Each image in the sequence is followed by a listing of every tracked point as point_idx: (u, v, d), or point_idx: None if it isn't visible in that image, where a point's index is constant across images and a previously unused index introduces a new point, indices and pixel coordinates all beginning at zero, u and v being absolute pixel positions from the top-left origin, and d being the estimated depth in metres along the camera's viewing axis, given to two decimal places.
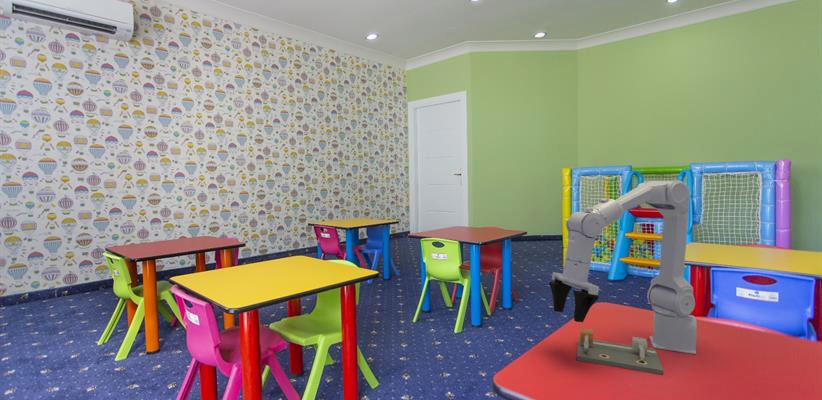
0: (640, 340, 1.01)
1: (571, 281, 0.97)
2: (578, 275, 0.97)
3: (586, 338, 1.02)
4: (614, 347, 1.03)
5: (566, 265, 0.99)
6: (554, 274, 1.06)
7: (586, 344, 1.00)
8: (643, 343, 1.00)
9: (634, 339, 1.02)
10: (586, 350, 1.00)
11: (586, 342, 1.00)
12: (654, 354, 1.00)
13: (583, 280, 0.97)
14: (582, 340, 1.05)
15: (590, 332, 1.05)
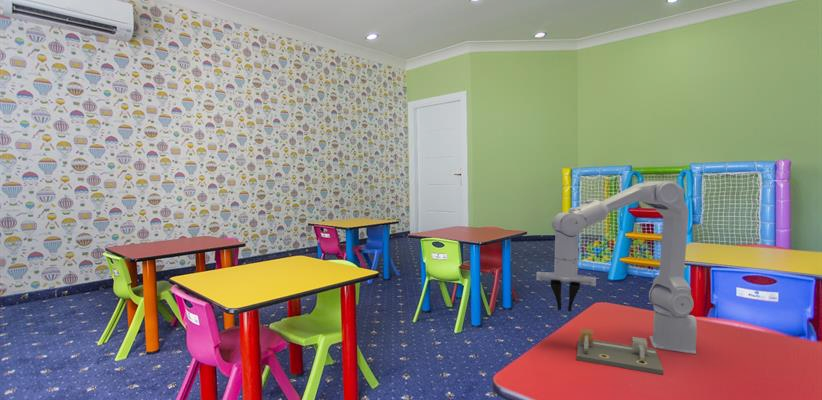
0: (640, 340, 1.01)
1: (573, 279, 1.05)
2: (576, 271, 1.06)
3: (586, 338, 1.02)
4: (614, 347, 1.03)
5: (564, 265, 1.05)
6: (539, 275, 1.09)
7: (586, 344, 1.00)
8: (643, 343, 1.00)
9: (634, 339, 1.02)
10: (586, 350, 1.00)
11: (586, 342, 1.00)
12: (654, 354, 1.00)
13: None
14: (582, 340, 1.05)
15: (590, 332, 1.05)
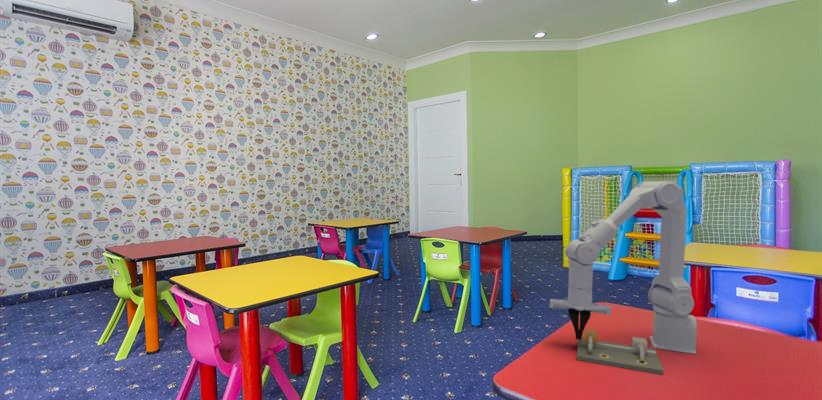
0: (640, 340, 1.01)
1: (588, 308, 1.04)
2: (590, 300, 1.04)
3: (590, 339, 1.02)
4: (614, 347, 1.03)
5: (579, 294, 1.04)
6: (553, 302, 1.08)
7: (590, 345, 1.00)
8: (643, 343, 1.00)
9: (634, 339, 1.02)
10: (590, 351, 1.00)
11: (590, 343, 1.00)
12: (654, 354, 1.00)
13: (591, 303, 1.06)
14: (586, 341, 1.05)
15: (594, 332, 1.05)
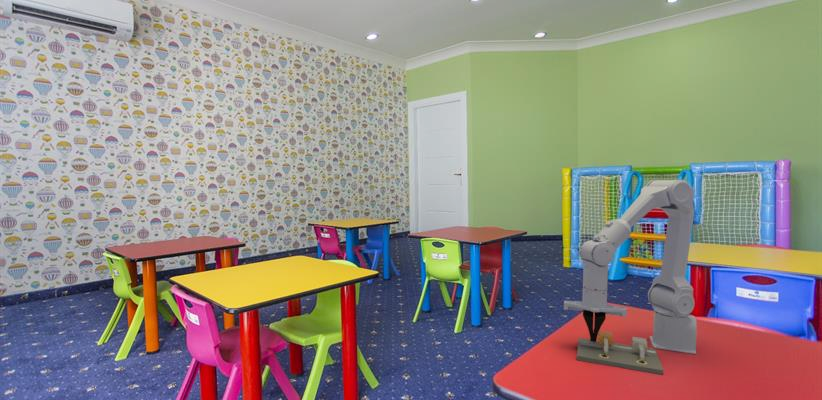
0: (640, 340, 1.01)
1: (603, 310, 1.02)
2: (605, 302, 1.03)
3: (605, 341, 1.00)
4: (614, 347, 1.03)
5: (594, 295, 1.03)
6: (567, 304, 1.07)
7: (606, 347, 0.99)
8: (643, 343, 1.00)
9: (634, 339, 1.02)
10: (606, 353, 0.99)
11: (606, 345, 0.99)
12: (654, 354, 1.00)
13: (606, 304, 1.04)
14: (601, 343, 1.04)
15: (609, 334, 1.04)
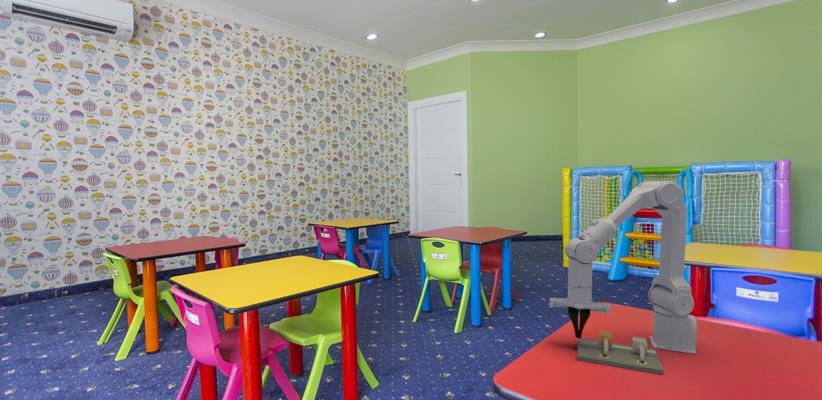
0: (640, 340, 1.01)
1: (588, 307, 1.04)
2: (590, 299, 1.05)
3: (605, 341, 1.00)
4: (614, 347, 1.03)
5: (579, 292, 1.04)
6: (553, 301, 1.08)
7: (606, 347, 0.99)
8: (643, 343, 1.00)
9: (634, 339, 1.02)
10: (606, 353, 0.99)
11: (606, 345, 0.99)
12: (654, 354, 1.00)
13: None
14: (601, 343, 1.04)
15: (609, 334, 1.04)
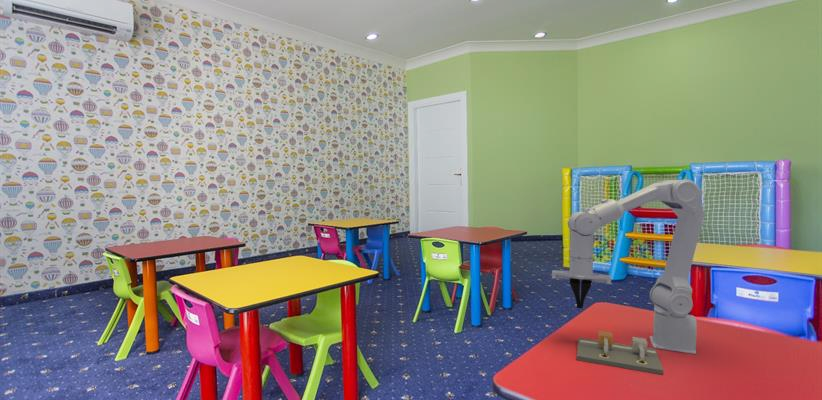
0: (640, 340, 1.01)
1: (589, 277, 1.07)
2: (591, 270, 1.08)
3: (605, 341, 1.00)
4: (614, 347, 1.03)
5: (580, 263, 1.07)
6: (555, 273, 1.12)
7: (606, 347, 0.99)
8: (643, 343, 1.00)
9: (634, 339, 1.02)
10: (606, 353, 0.99)
11: (606, 345, 0.99)
12: (654, 354, 1.00)
13: (592, 273, 1.09)
14: (601, 343, 1.04)
15: (609, 334, 1.04)
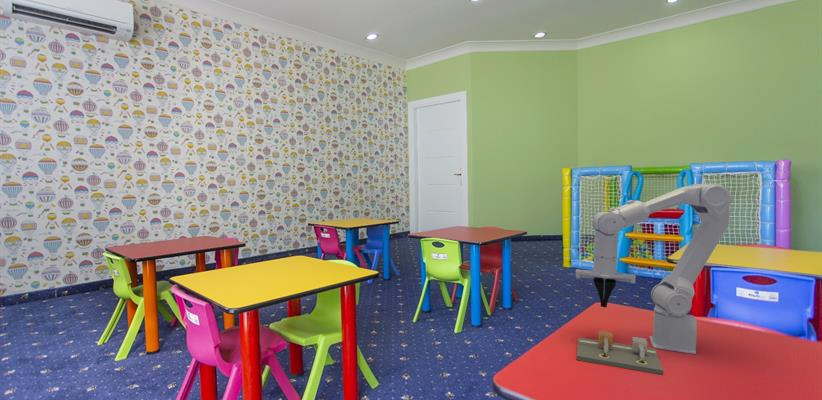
0: (640, 340, 1.01)
1: (613, 276, 1.08)
2: (615, 269, 1.09)
3: (605, 341, 1.00)
4: (614, 347, 1.03)
5: (605, 263, 1.09)
6: (579, 272, 1.13)
7: (606, 347, 0.99)
8: (643, 343, 1.00)
9: (634, 339, 1.02)
10: (606, 353, 0.99)
11: (606, 345, 0.99)
12: (654, 354, 1.00)
13: None
14: (601, 343, 1.04)
15: (609, 334, 1.04)
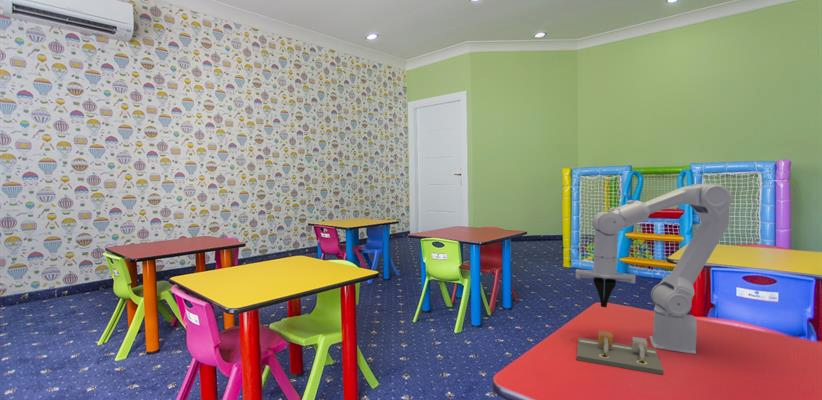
0: (640, 340, 1.01)
1: (613, 276, 1.08)
2: (615, 269, 1.09)
3: (605, 341, 1.00)
4: (614, 347, 1.03)
5: (605, 263, 1.09)
6: (579, 272, 1.13)
7: (606, 347, 0.99)
8: (643, 343, 1.00)
9: (634, 339, 1.02)
10: (606, 353, 0.99)
11: (606, 345, 0.99)
12: (654, 354, 1.00)
13: None
14: (601, 343, 1.04)
15: (609, 334, 1.04)
